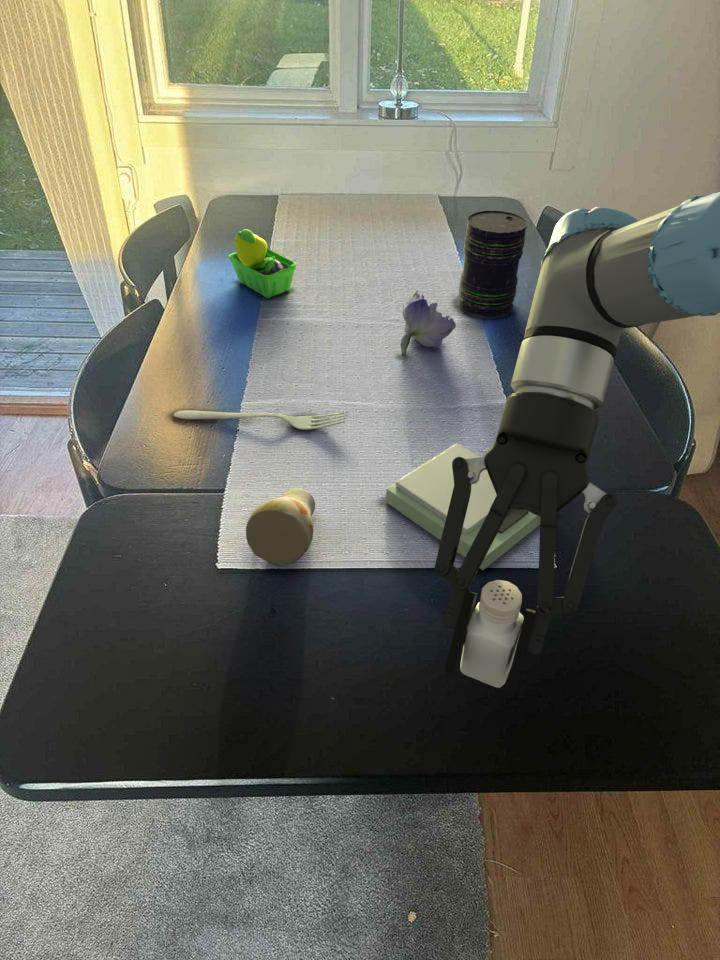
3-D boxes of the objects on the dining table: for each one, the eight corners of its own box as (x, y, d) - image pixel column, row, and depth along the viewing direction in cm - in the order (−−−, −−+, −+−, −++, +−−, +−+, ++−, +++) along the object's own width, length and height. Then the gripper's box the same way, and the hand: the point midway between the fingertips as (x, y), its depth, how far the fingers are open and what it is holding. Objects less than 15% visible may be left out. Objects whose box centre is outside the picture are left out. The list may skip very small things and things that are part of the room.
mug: (331, 509, 84) (335, 482, 74) (297, 583, 80) (297, 565, 71) (274, 485, 84) (271, 455, 74) (238, 558, 81) (230, 536, 71)
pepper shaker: (457, 674, 60) (469, 603, 54) (472, 640, 63) (485, 569, 57) (501, 693, 59) (519, 622, 53) (515, 657, 62) (533, 586, 56)
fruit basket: (300, 290, 127) (297, 229, 120) (260, 305, 123) (255, 242, 115) (263, 270, 134) (258, 210, 126) (224, 283, 129) (216, 222, 122)
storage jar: (486, 324, 119) (499, 237, 109) (445, 303, 124) (454, 219, 115) (524, 307, 123) (540, 223, 114) (484, 288, 129) (495, 206, 119)
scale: (552, 515, 83) (557, 496, 81) (482, 570, 76) (486, 551, 74) (455, 456, 91) (458, 438, 89) (385, 502, 84) (386, 483, 82)
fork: (177, 408, 99) (175, 397, 97) (348, 419, 97) (348, 409, 96) (170, 421, 96) (168, 410, 95) (345, 433, 95) (345, 423, 94)
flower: (423, 332, 103) (441, 279, 106) (376, 339, 108) (395, 288, 112) (451, 369, 109) (467, 318, 113) (406, 373, 114) (422, 324, 118)
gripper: (656, 434, 59) (586, 706, 58) (457, 391, 63) (389, 642, 62) (672, 416, 51) (592, 727, 50) (446, 368, 56) (369, 652, 55)
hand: (480, 679), depth 56 cm, fingers closed on pepper shaker, 4 cm apart
